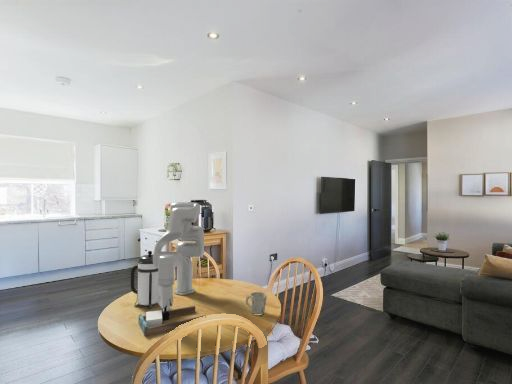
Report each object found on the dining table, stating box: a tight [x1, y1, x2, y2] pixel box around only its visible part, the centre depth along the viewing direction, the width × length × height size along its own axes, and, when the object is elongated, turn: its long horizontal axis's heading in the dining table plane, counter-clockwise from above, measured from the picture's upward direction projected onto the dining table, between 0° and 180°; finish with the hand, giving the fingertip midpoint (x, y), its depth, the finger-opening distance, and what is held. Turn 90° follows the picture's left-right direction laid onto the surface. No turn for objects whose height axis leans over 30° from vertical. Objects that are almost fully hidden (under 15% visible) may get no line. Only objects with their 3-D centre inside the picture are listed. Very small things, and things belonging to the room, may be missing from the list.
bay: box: [138, 305, 206, 337], centre depth 138 cm, size 15×28×4 cm, turn 122°
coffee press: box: [130, 250, 159, 310], centre depth 161 cm, size 17×16×30 cm
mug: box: [245, 291, 268, 314], centre depth 151 cm, size 8×13×10 cm, turn 58°
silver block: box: [145, 309, 163, 328], centre depth 135 cm, size 10×7×5 cm
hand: (165, 319), depth 137 cm, fingers closed
